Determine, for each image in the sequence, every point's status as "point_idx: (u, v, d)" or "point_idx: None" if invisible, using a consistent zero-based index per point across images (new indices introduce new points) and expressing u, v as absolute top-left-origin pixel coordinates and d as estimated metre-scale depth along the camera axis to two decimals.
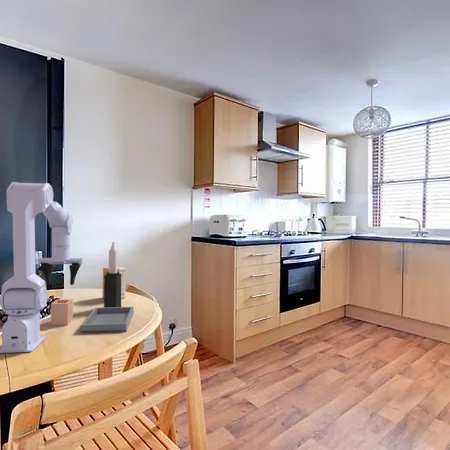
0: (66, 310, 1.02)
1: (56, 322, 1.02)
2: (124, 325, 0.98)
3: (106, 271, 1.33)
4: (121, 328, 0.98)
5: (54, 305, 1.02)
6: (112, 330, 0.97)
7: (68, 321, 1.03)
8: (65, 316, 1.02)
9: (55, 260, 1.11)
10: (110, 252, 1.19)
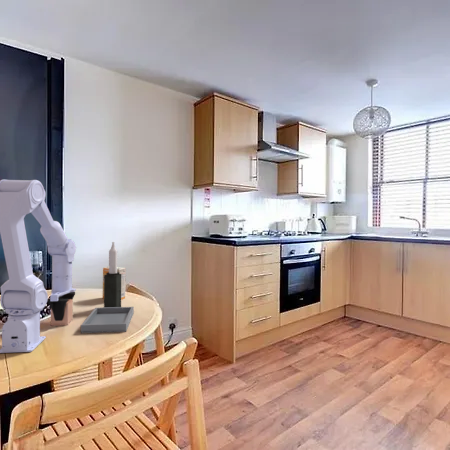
0: (66, 310, 1.02)
1: (56, 322, 1.02)
2: (124, 325, 0.98)
3: (106, 271, 1.33)
4: (121, 328, 0.98)
5: None
6: (112, 330, 0.97)
7: (68, 321, 1.03)
8: (65, 316, 1.02)
9: None
10: (110, 252, 1.19)
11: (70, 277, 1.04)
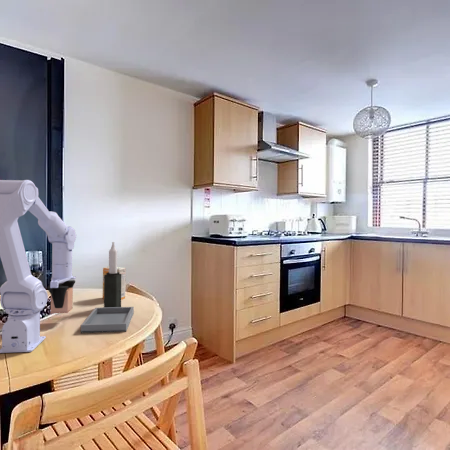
0: (66, 298, 1.02)
1: (56, 310, 1.02)
2: (124, 325, 0.98)
3: (106, 271, 1.33)
4: (121, 328, 0.98)
5: None
6: (112, 330, 0.97)
7: (68, 309, 1.03)
8: (65, 303, 1.02)
9: None
10: (110, 252, 1.19)
11: (70, 265, 1.04)
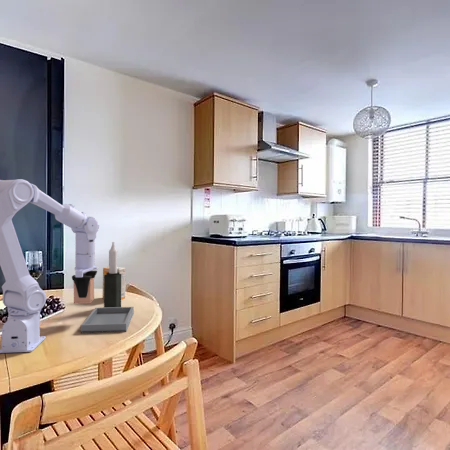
0: (89, 288, 1.03)
1: (79, 300, 1.02)
2: (124, 325, 0.98)
3: (106, 271, 1.33)
4: (121, 328, 0.98)
5: None
6: (112, 330, 0.97)
7: (91, 299, 1.04)
8: (87, 293, 1.03)
9: None
10: (110, 252, 1.19)
11: (93, 255, 1.04)
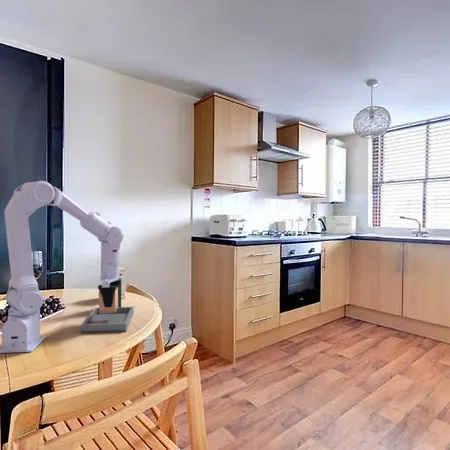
0: None
1: (104, 309, 1.03)
2: (124, 325, 0.98)
3: None
4: (121, 328, 0.98)
5: None
6: (112, 330, 0.97)
7: (115, 308, 1.05)
8: None
9: None
10: None
11: (118, 264, 1.05)
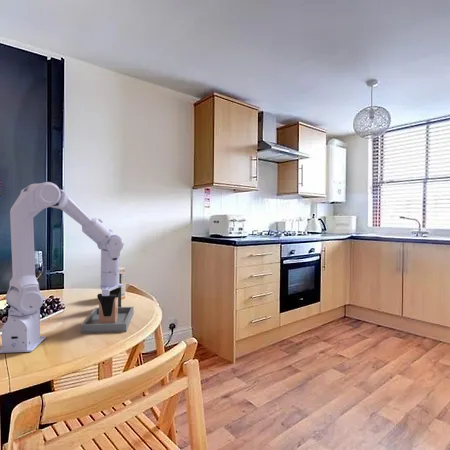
0: (114, 308, 1.04)
1: (104, 320, 1.03)
2: (124, 325, 0.98)
3: None
4: (121, 328, 0.98)
5: None
6: (112, 330, 0.97)
7: (115, 319, 1.05)
8: (112, 313, 1.04)
9: None
10: None
11: (118, 272, 1.05)
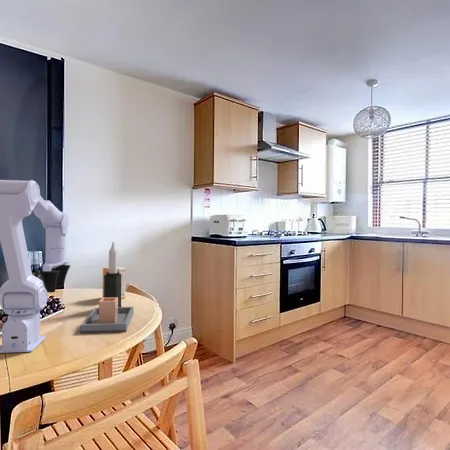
0: (114, 308, 1.04)
1: (104, 320, 1.03)
2: (124, 325, 0.98)
3: (106, 271, 1.33)
4: (121, 328, 0.98)
5: (102, 303, 1.03)
6: (112, 330, 0.97)
7: (115, 319, 1.05)
8: (112, 313, 1.04)
9: None
10: (110, 252, 1.19)
11: (63, 249, 1.05)
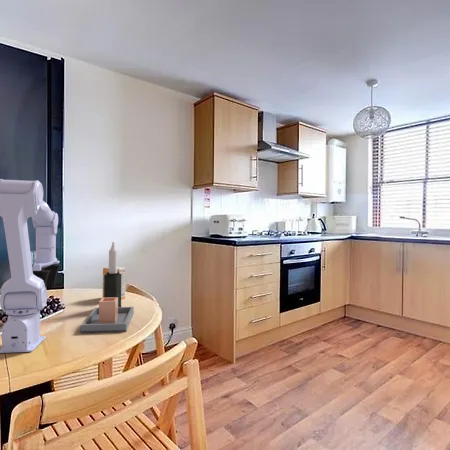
0: (114, 308, 1.04)
1: (104, 320, 1.03)
2: (124, 325, 0.98)
3: (106, 271, 1.33)
4: (121, 328, 0.98)
5: (102, 303, 1.03)
6: (112, 330, 0.97)
7: (115, 319, 1.05)
8: (112, 313, 1.04)
9: None
10: (110, 252, 1.19)
11: (54, 249, 1.06)
